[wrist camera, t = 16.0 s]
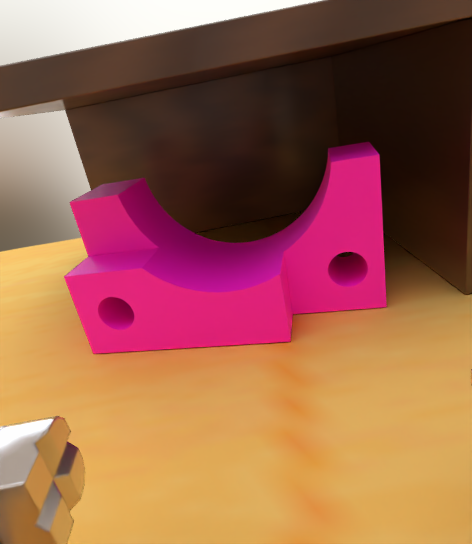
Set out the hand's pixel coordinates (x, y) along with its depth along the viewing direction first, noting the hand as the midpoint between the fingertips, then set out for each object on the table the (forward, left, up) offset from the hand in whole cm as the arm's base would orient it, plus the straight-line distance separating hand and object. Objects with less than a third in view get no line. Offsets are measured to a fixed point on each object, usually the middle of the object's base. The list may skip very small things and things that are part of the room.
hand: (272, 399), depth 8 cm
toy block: (0, -14, -6) cm, 15 cm away
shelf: (0, -21, -6) cm, 22 cm away
